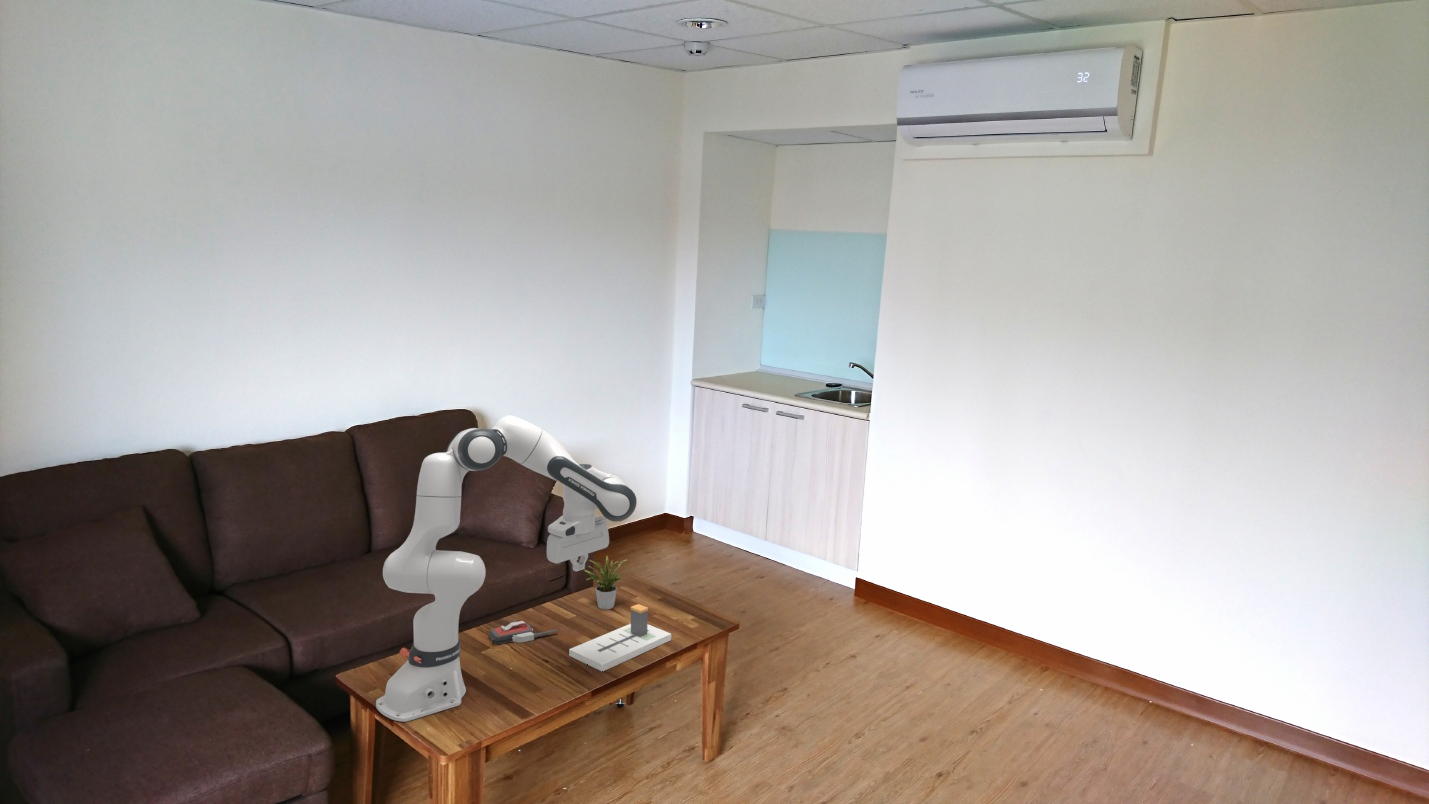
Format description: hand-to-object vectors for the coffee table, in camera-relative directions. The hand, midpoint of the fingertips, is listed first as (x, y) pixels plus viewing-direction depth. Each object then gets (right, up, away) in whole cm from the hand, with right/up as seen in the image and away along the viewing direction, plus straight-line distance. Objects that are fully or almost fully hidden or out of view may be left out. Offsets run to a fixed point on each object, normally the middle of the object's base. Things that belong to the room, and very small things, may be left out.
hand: (578, 569), depth 254 cm
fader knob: (+15, -22, +19) cm, 33 cm away
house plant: (+3, -20, +44) cm, 49 cm away
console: (+11, -25, +13) cm, 31 cm away
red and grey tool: (-20, -24, +19) cm, 37 cm away
